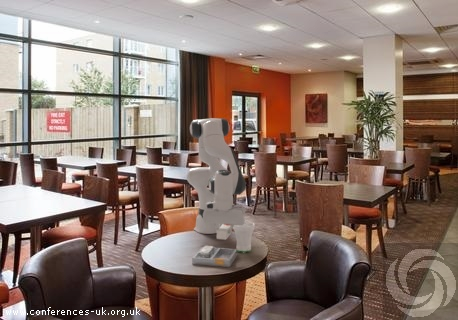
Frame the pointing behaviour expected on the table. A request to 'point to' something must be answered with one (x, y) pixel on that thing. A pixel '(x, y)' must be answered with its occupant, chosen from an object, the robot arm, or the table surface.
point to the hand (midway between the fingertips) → (223, 232)
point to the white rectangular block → (223, 232)
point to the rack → (214, 256)
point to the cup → (244, 236)
